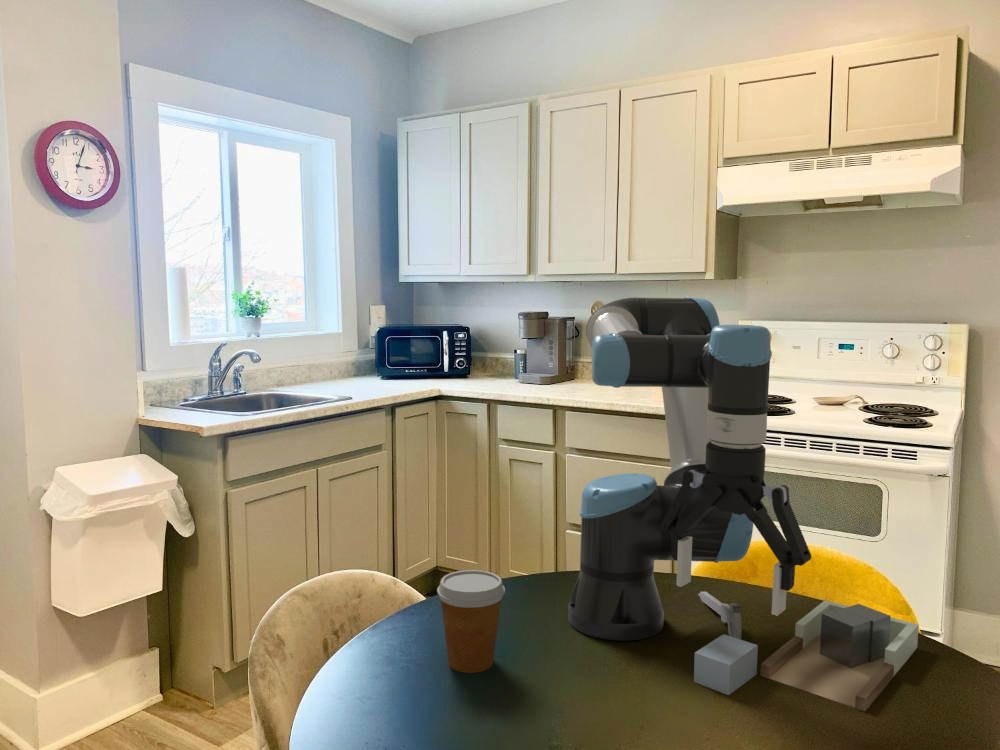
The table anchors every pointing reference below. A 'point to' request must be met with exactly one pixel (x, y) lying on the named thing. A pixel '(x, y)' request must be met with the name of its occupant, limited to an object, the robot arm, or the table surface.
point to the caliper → (725, 613)
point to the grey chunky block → (874, 629)
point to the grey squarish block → (845, 638)
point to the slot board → (827, 674)
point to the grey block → (725, 664)
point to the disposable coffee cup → (470, 618)
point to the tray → (900, 635)
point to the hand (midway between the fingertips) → (728, 597)
